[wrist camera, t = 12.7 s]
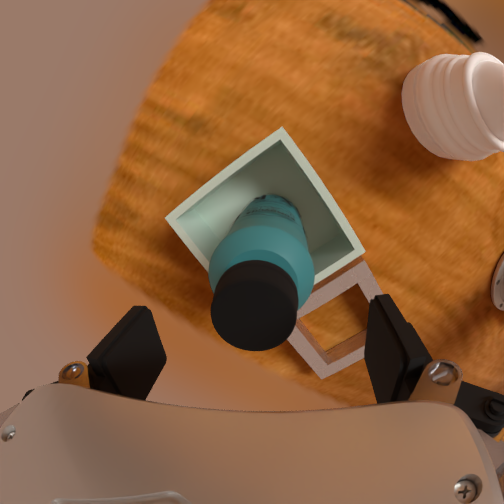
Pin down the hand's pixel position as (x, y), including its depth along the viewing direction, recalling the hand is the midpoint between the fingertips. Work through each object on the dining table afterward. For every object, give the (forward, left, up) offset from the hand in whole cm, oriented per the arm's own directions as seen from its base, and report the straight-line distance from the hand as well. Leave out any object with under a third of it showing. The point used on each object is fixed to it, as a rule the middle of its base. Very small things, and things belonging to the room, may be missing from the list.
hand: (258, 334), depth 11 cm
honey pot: (-1, -27, -22) cm, 35 cm away
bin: (0, 0, -22) cm, 22 cm away
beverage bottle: (0, 0, -21) cm, 21 cm away
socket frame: (-16, 0, -22) cm, 27 cm away
